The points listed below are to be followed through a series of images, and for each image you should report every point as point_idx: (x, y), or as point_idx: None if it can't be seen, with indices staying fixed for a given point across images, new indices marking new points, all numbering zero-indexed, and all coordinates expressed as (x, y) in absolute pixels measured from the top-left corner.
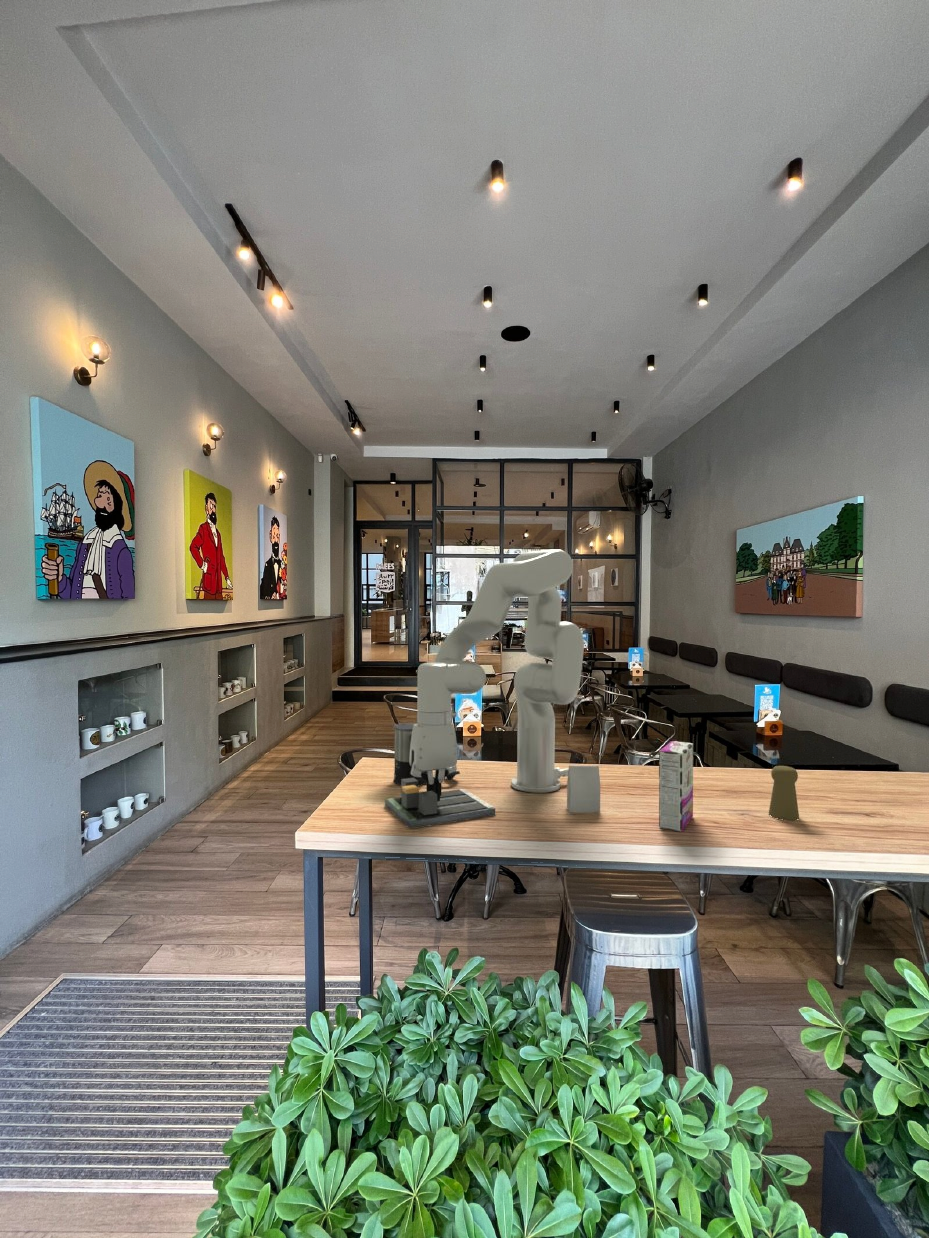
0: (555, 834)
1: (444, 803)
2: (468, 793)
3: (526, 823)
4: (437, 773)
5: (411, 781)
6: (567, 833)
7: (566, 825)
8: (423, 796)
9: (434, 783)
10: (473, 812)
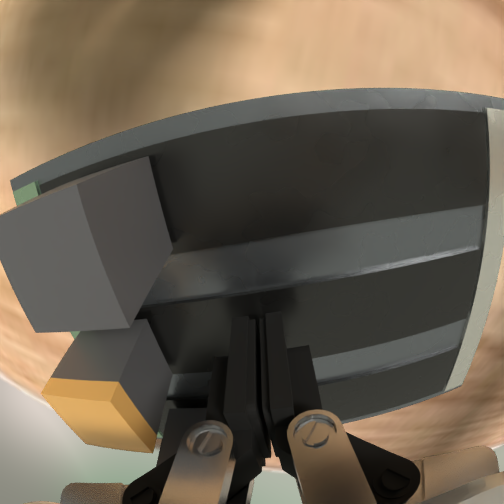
0: (452, 444)
1: (322, 339)
2: (498, 206)
3: (461, 411)
4: (322, 478)
5: (70, 322)
6: (468, 438)
7: (498, 410)
8: None
9: (267, 446)
10: (385, 410)
